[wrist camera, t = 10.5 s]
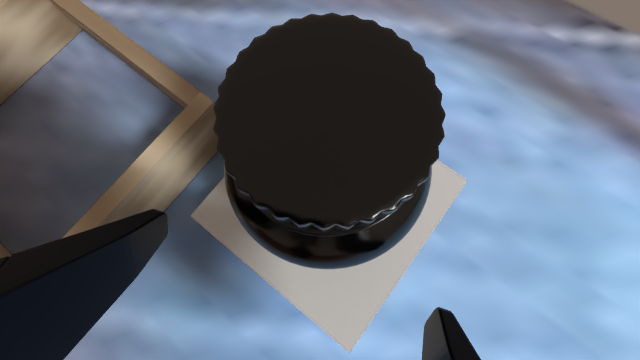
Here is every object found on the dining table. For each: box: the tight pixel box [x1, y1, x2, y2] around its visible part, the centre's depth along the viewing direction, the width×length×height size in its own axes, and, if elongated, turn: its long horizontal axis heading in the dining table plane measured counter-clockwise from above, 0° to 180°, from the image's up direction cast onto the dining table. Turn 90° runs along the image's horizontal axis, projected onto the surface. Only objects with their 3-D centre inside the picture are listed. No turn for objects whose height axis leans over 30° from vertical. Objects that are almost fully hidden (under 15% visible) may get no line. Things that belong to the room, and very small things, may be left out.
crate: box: [0, 0, 218, 258], centre depth 18 cm, size 16×16×4 cm
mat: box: [190, 160, 468, 353], centre depth 18 cm, size 12×12×1 cm
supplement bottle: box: [213, 13, 445, 269], centre depth 12 cm, size 7×7×12 cm
